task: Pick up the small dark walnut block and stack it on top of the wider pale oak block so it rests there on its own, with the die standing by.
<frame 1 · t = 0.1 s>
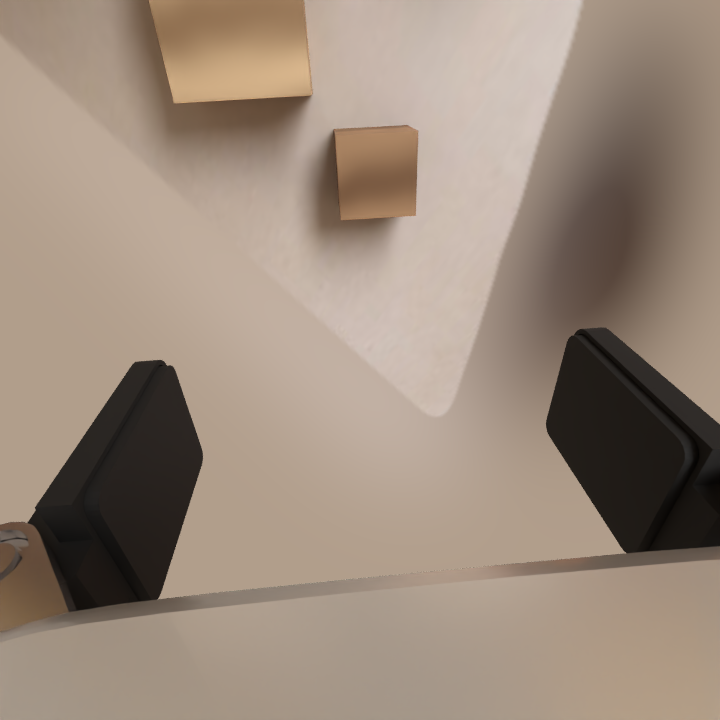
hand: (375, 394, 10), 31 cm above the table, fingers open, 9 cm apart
oak base: (243, 23, 30), on the table
walnut block: (371, 166, 36), on the table
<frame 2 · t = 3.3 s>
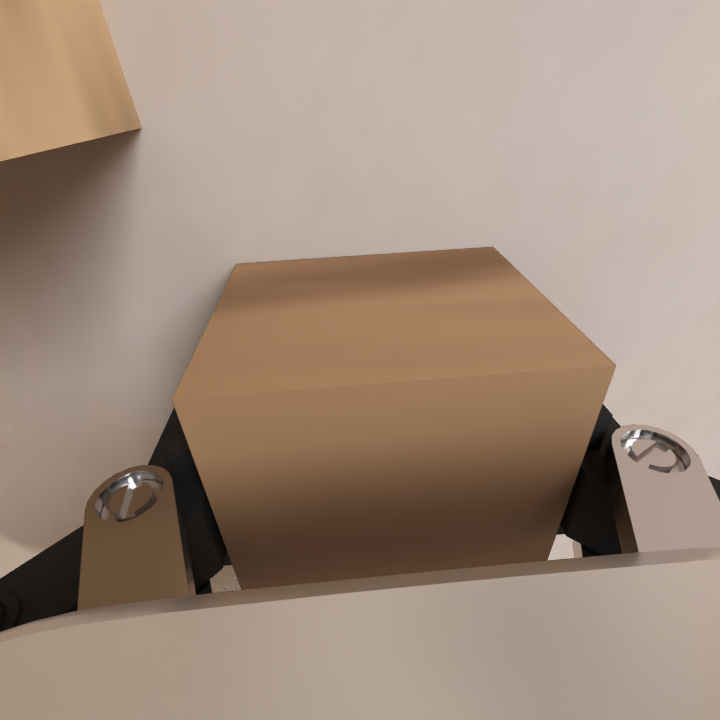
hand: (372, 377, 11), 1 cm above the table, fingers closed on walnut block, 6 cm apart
walnut block: (370, 362, 11), on the table, touching gripper
when the fingers open (7 cm above the table, at t = 9.0 s): walnut block stays where it is, point 6 cm above the table.
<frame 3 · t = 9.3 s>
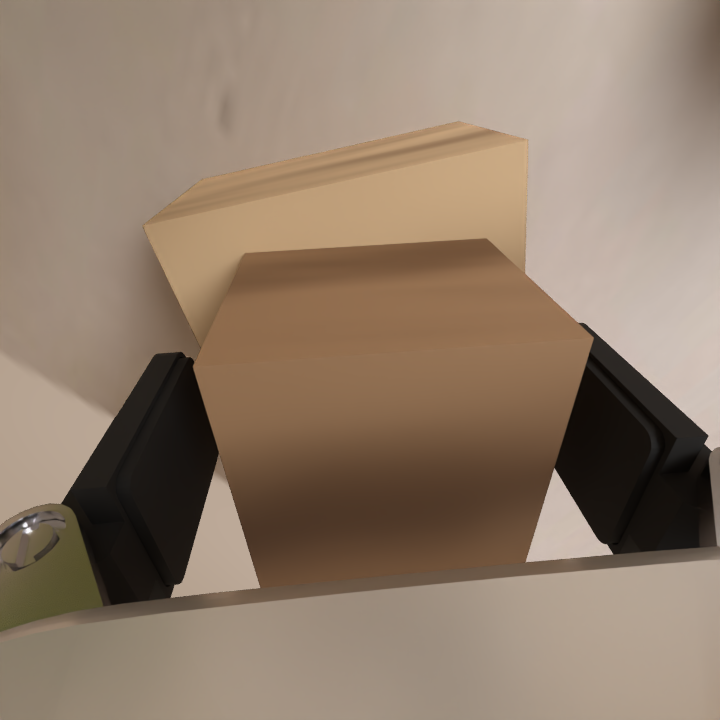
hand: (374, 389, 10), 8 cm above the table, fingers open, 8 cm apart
oak base: (353, 270, 17), on the table
walnut block: (370, 348, 12), point 6 cm above the table
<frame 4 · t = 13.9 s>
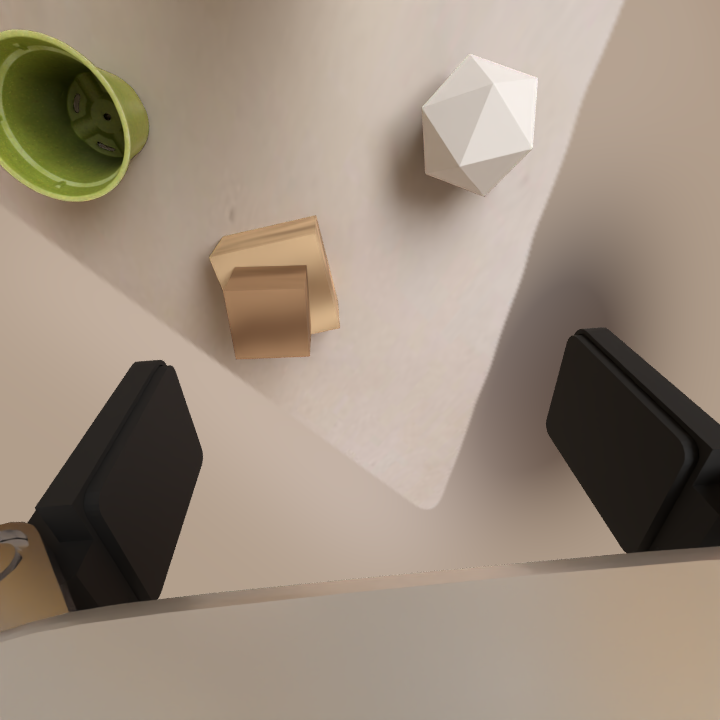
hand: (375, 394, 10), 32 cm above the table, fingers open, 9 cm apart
plant pot: (109, 115, 34), on the table
oak base: (283, 270, 42), on the table, touching walnut block
die: (462, 125, 36), on the table
walnut block: (274, 298, 37), point 6 cm above the table, touching oak base
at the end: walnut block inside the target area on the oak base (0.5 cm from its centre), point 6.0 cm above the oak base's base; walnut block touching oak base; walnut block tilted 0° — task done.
